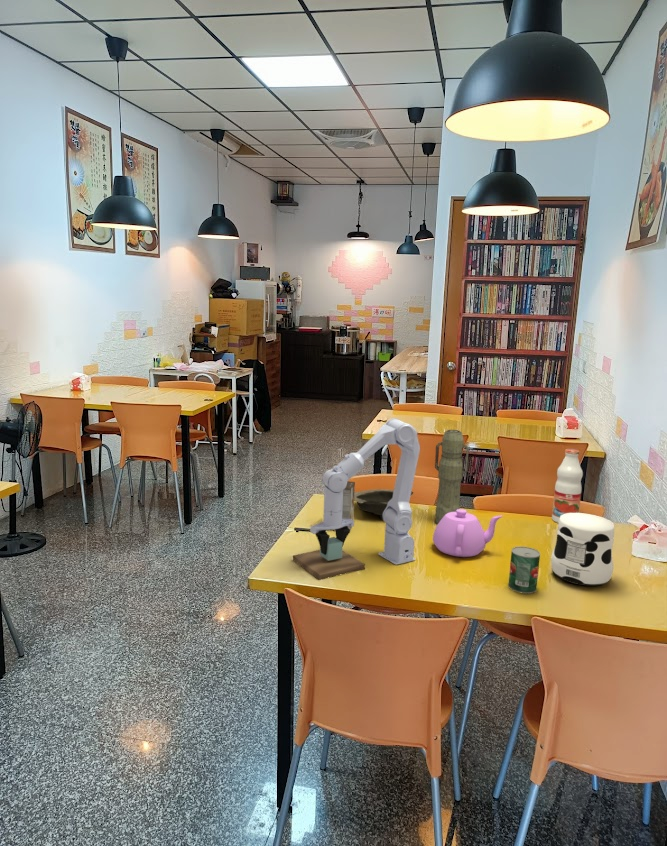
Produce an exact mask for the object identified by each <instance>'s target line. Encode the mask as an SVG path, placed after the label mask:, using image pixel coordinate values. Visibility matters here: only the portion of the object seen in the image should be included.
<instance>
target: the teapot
mask: <svg viewBox="0 0 667 846" xmlns="http://www.w3.org/2000/svg"><path fill="white" fill-rule="evenodd" d="M503 516H504V515H502V514H501V515H500V514H499V515H495V516H493V517H492V518H491V519H490V520H489V526H488V528H487V529H486V530H485V531H484V529H483V527H482V524H481V522H480V521H479V519H478V518H477V516H476V515H475V514H472V513H469V512H468V511H467V510H466V509H464V508H460V509H457V510H456V512H449V513H447V514H446V515H445V516H444V517H443V518H442V519H441V521H440V522H439V523H438V524H436V527H435V529H434V531H433V535H432V541H433V544H434V545H435V547H436V548H437V550H439V551H440V552H441V553H443V554H445V555H450V556H453V557H461V558H466V557H467V558H469V557H474V556H477V555H479V554H480V553H481V552H482V551H483V550H484V549H485V548H486V545H487V544H488V543H490V542H491V541H492V540H493V537H494V536H495V530H496V524H497V522H498V520H499V519H501V518H503Z"/></svg>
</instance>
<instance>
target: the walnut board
mask: <svg viewBox="0 0 667 846" xmlns="http://www.w3.org/2000/svg"><path fill="white" fill-rule="evenodd" d="M292 561H294V562H295V563H296V564H298V566H299V567H302V569H305V571H307V572H308V573H309V574H311V575H312V576H314V577H315V578H316V579H318V580H319V581H321V580H325V579H328V577H329V578H334V577H337V576H336V575H338V576H341V575H340V574H342V575H345V573H346V574H349V573H353V572H358V571H362V570H365V569H366V563H364V562H362V561H361V560H359V559H358V558H356V557H354V556H353V555H351V554H349V553H348V552H346V551H344V550H343V551H342V558H339V559H334V560H330V561H328V560H326V559H325V558H323V557H322V556H321V555H320V549H318V550H317V549H316V550H313V551H308V552H303V553H299V554H294V555H292ZM333 576H334V577H333Z"/></svg>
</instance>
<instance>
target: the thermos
mask: <svg viewBox="0 0 667 846" xmlns="http://www.w3.org/2000/svg"><path fill="white" fill-rule="evenodd" d="M440 446H441V454H440V455H441V456H440V460H439V453H440ZM464 448H465V449H466V453H465V454H466V455H465V466H464V461H463V451H464ZM469 451H470V448H469V446H468V445H467V444H465V443H464V436H463V432H462V431H460V430H459V429H458V430H457V429H447V430H445V431H444V433H443V436H442V440H441V441H440V442H438V443H437V444H436V445H435V457H434V459H435V460H434V468H435V470H436V471H437V472H438V474H437V477H438V493H437V504H436V507H435V512H434V513H435V515H434V516H435V521H434V522H435V524H436V525H438V523H439V522H440V521H441V519H442V518H443V517H444V516H445V515H446V514H447V513H449V512H456V510H457V509H461V508H460V499H461V497H460V496H461V485H462V484H461V483H462V482H461V481H462V480H463V476H464V475H463V474H467V473H468V472H467V471H468V465H469V453H470V452H469Z"/></svg>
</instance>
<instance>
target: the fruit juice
mask: <svg viewBox="0 0 667 846" xmlns="http://www.w3.org/2000/svg"><path fill="white" fill-rule="evenodd" d="M564 454H565V457H564V458H563V460H562V462H561V463H560V465H559V466H558V467H557V472H556V476H557V479H556V481H555V483H554V485H555V486H554V495H553V504H552V513H551V519H552V521H554V522H555V523H557V524H559V520H560V516H561V515H563V514H566V513H580V504H581V497H582V482H581V481H582V478H583V476H584V472H583V469H582V467H581V464H580V460H579V454H580V450H578V449H576V448H575V449H574V448H566V449H565V452H564Z"/></svg>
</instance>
